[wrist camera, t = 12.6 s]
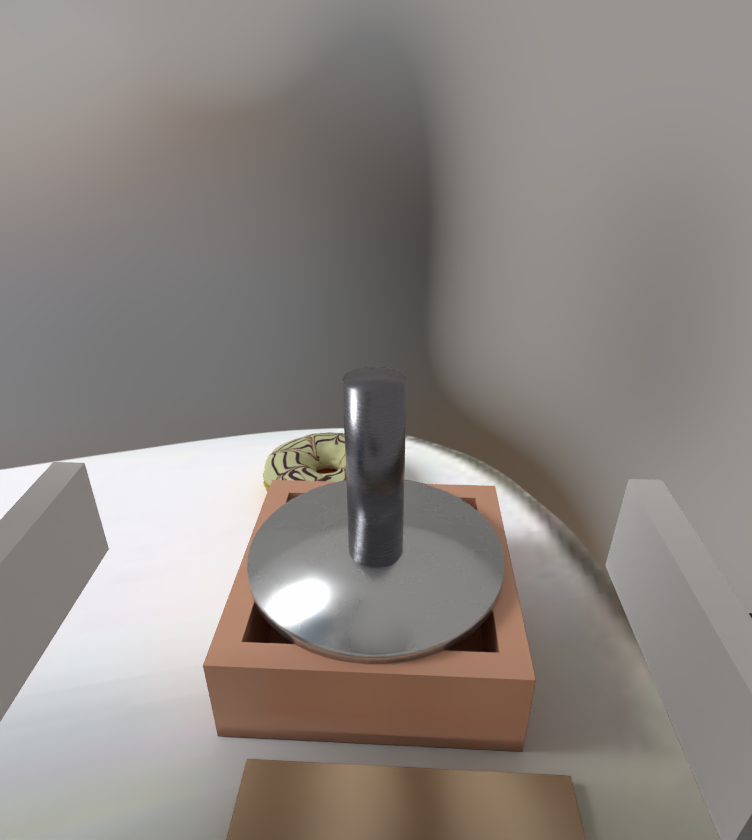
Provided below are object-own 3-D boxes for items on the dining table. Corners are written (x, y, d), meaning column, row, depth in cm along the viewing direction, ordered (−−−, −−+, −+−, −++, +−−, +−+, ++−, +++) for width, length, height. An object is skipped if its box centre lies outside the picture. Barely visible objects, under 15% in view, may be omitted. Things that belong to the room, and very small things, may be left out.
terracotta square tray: (217, 736, 31) (202, 665, 29) (278, 539, 45) (272, 480, 43) (522, 751, 31) (535, 680, 28) (488, 546, 45) (494, 486, 42)
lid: (215, 657, 29) (175, 453, 24) (277, 484, 42) (261, 326, 37) (522, 671, 28) (557, 463, 23) (488, 490, 42) (505, 330, 36)
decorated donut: (299, 550, 45) (295, 510, 43) (248, 481, 53) (243, 445, 51) (413, 506, 49) (414, 468, 48) (350, 449, 57) (349, 415, 56)
